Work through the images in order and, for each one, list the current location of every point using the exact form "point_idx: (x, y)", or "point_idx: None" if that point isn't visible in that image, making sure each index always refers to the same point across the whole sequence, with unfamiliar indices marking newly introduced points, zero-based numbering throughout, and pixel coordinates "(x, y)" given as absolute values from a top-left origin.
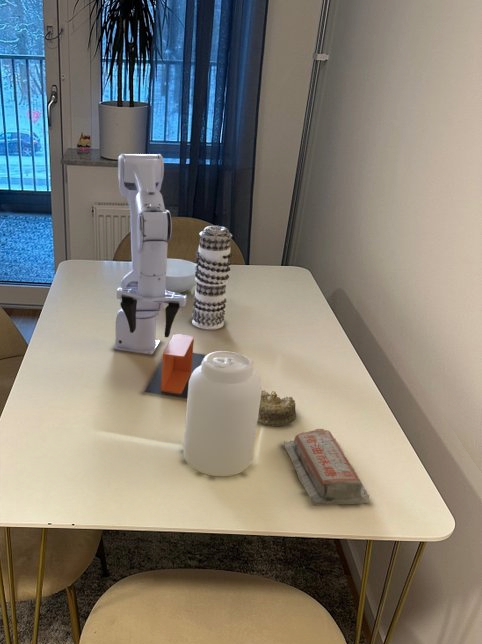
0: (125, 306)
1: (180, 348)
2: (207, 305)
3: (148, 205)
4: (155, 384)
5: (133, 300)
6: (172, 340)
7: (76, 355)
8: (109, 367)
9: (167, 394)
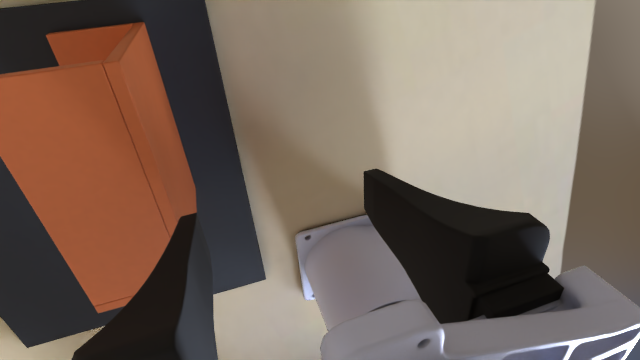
0: (506, 223)
1: (63, 173)
2: None
3: None
4: (192, 66)
5: (472, 311)
6: (167, 229)
7: (482, 130)
8: (382, 112)
9: (101, 7)
